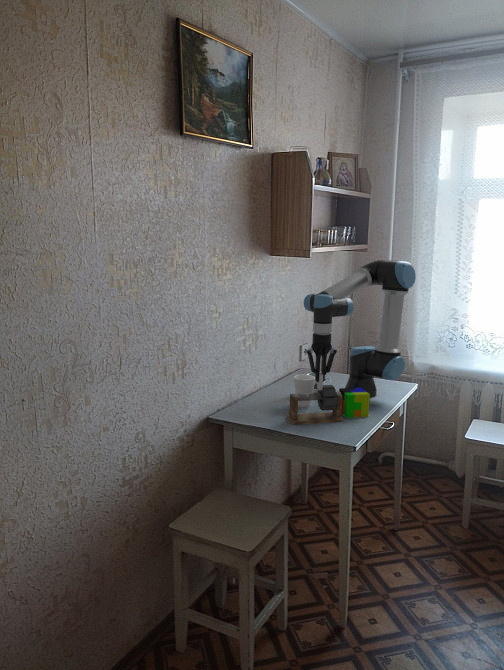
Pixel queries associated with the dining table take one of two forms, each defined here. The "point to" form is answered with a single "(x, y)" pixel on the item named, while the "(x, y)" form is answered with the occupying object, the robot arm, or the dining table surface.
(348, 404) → the puzzle toy
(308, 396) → the pipe rig
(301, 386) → the foam cup
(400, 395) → the dining table surface
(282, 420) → the dining table surface
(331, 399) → the dark gray notched block
